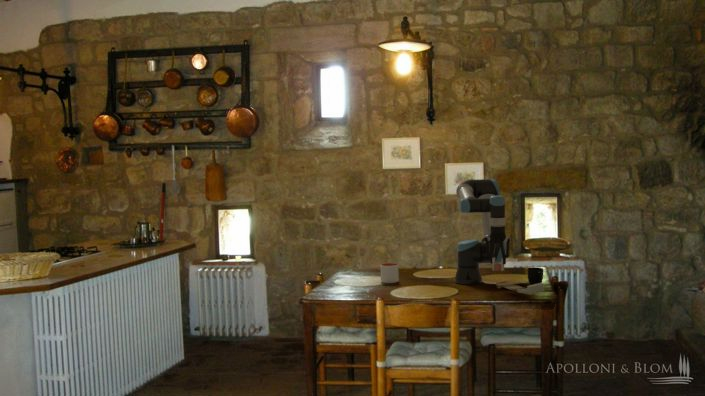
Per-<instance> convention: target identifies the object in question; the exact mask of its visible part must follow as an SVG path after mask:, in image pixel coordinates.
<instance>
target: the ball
mask: <svg viewBox="0 0 705 396" xmlns="http://www.w3.org/2000/svg"><path fill="white" fill-rule="evenodd" d="M494 269H495V270H494V271H496V272H501V263H495V266H494Z"/></svg>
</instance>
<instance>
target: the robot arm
mask: <svg viewBox="0 0 705 396" xmlns="http://www.w3.org/2000/svg"><path fill="white" fill-rule="evenodd" d="M500 193H501V192H500V185H499V182H498V181H497V180H496V179H493V178H492V179H491V178H488V179H486V178H484V179H466V180H465V181H464V180H463V182H461V183H460V184H458V186H457V188H456V196H457V198H458V199H459V211H460V213H462V214H474V213H475V214H478V213H480V214H481V224H482V232H483V237H482V238H481V242H480V241H479V239H477V238H476V239H475V238H474V239H465V240H462V241H459V242H458V243H457V249H456V252H457V269H456V272H455V276H454V283H456V284H458V285H459V284H460V285H480V284H482V283H483V277H482V273H481V271H480V264H490V265H491V266H492V271H493V272H494V271H496V270H495V269H494V266H495V264H497V263H499V264H501V270H500V272H504V271H505V265H506V264H507V258H509V257H510V253H511V252H510V249H511V241H512V238H511V237H507V235H506V226H505V225H506V199H505V198H506V197H505V196H504V195H500Z"/></svg>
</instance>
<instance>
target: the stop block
mask: <svg viewBox="0 0 705 396" xmlns="http://www.w3.org/2000/svg"><path fill="white" fill-rule="evenodd" d="M526 288H527V290H522V289H517V291H516V292H517V293H519V294H525V295H534V294H539V293H542V292H544V283H543V282H542V283H538V284H534V285H530V284H529V285H527V287H526Z"/></svg>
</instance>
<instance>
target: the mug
mask: <svg viewBox="0 0 705 396" xmlns="http://www.w3.org/2000/svg"><path fill="white" fill-rule="evenodd" d="M526 272H527V273H526V274H527V280H528V284H529V286H530V285H534V284H538V283H543V280H544V268H542V267H538V266H537V267H533V266H532V267H527V268H526Z"/></svg>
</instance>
